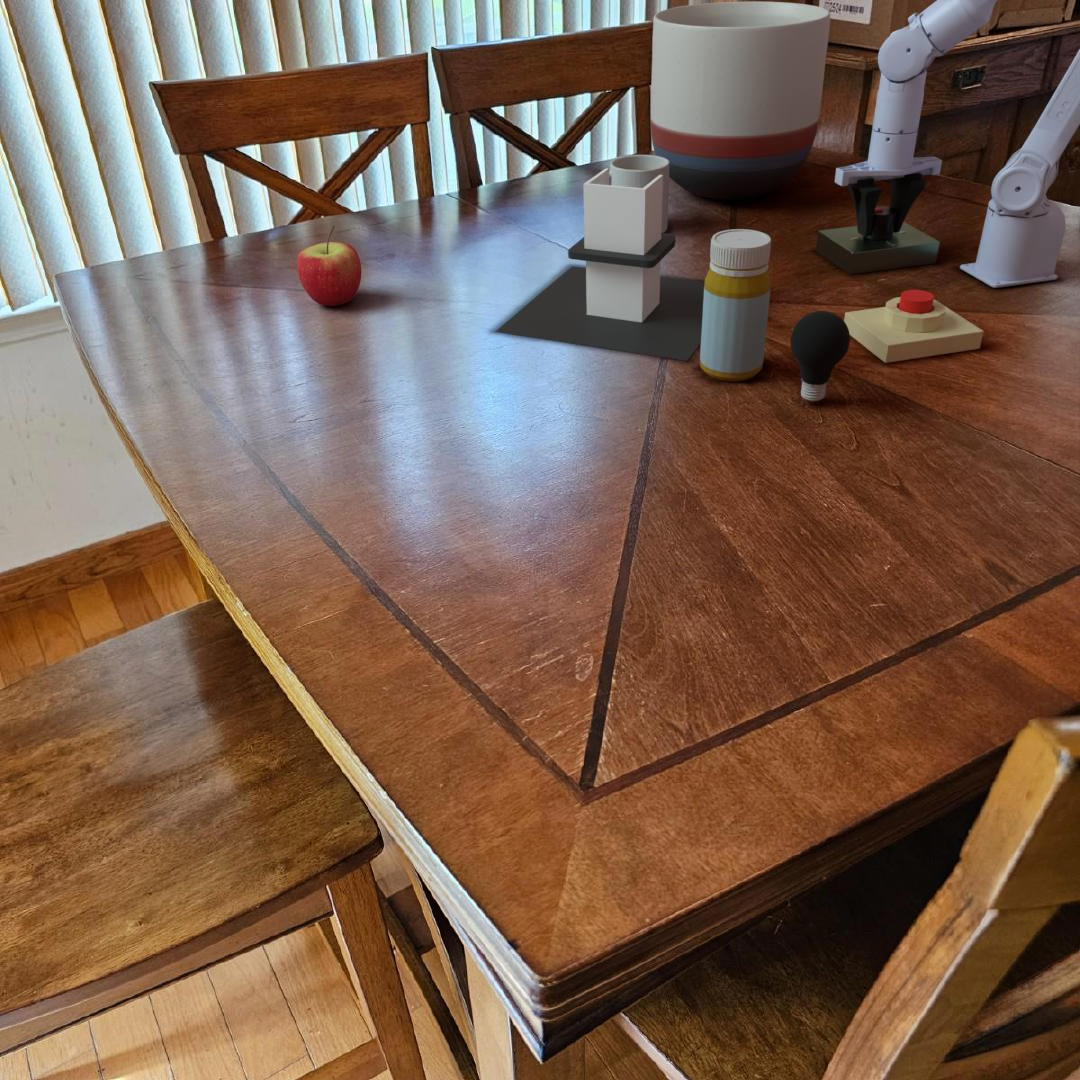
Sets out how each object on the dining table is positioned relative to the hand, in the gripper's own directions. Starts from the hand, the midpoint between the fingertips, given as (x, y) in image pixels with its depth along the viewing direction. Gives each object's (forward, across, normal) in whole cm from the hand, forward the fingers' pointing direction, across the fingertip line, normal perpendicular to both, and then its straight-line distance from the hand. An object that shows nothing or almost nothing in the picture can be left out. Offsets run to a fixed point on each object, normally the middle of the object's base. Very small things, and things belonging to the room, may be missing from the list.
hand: (878, 232), depth 137 cm
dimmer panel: (+3, 0, 0) cm, 3 cm away
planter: (+4, +7, -36) cm, 37 cm away
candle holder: (+4, +39, +6) cm, 40 cm away
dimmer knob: (0, 0, 0) cm, 0 cm away
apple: (+4, +75, -9) cm, 76 cm away
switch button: (0, +10, +26) cm, 28 cm away
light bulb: (+4, +28, +37) cm, 47 cm away
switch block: (+3, +10, +26) cm, 28 cm away
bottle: (+4, +33, +27) cm, 43 cm away
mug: (+4, +28, -24) cm, 37 cm away
